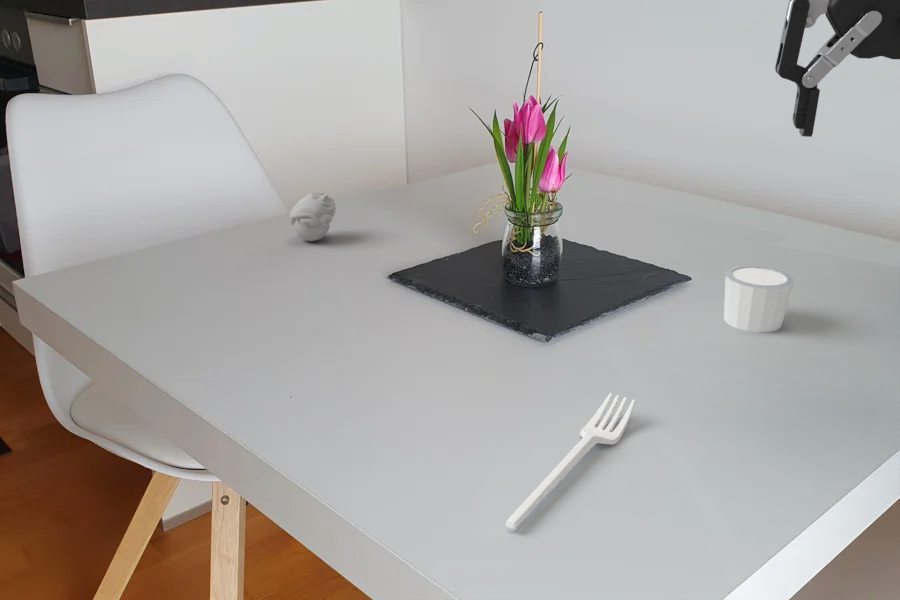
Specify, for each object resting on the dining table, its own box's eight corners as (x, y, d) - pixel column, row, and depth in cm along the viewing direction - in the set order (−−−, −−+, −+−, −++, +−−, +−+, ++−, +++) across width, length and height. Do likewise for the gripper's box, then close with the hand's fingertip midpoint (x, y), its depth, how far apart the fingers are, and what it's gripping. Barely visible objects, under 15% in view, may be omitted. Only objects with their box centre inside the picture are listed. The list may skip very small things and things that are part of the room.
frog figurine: (346, 238, 121) (344, 192, 119) (307, 250, 117) (304, 201, 114) (320, 230, 125) (317, 184, 123) (281, 240, 120) (278, 193, 118)
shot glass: (761, 356, 86) (771, 292, 83) (704, 334, 91) (711, 274, 88) (796, 338, 90) (806, 277, 87) (740, 318, 95) (748, 260, 92)
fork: (490, 524, 61) (490, 502, 60) (604, 409, 76) (605, 390, 75) (529, 540, 59) (530, 518, 58) (638, 419, 74) (639, 401, 74)
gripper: (997, -87, 62) (946, 133, 68) (793, -86, 65) (762, 124, 71) (1038, -92, 55) (978, 152, 61) (808, -91, 58) (772, 142, 64)
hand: (862, 137), depth 66 cm, fingers open, 8 cm apart
